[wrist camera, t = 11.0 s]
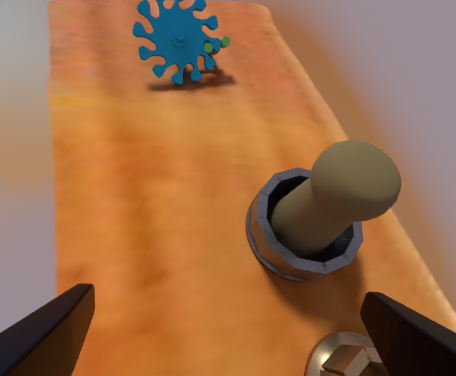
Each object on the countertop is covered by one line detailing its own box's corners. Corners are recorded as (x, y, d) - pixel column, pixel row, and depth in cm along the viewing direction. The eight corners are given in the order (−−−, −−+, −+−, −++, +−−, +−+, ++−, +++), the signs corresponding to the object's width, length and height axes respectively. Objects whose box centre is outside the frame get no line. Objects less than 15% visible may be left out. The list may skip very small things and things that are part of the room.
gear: (132, 77, 29) (132, -31, 26) (133, 81, 34) (133, -8, 31) (227, 90, 32) (235, -3, 29) (214, 92, 38) (220, 13, 35)
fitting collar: (344, 290, 23) (370, 285, 20) (239, 270, 22) (249, 262, 19) (337, 195, 28) (358, 179, 25) (251, 177, 27) (260, 157, 24)
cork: (333, 217, 26) (424, 151, 16) (317, 273, 23) (417, 234, 13) (277, 189, 26) (334, 110, 16) (255, 240, 23) (308, 180, 14)
